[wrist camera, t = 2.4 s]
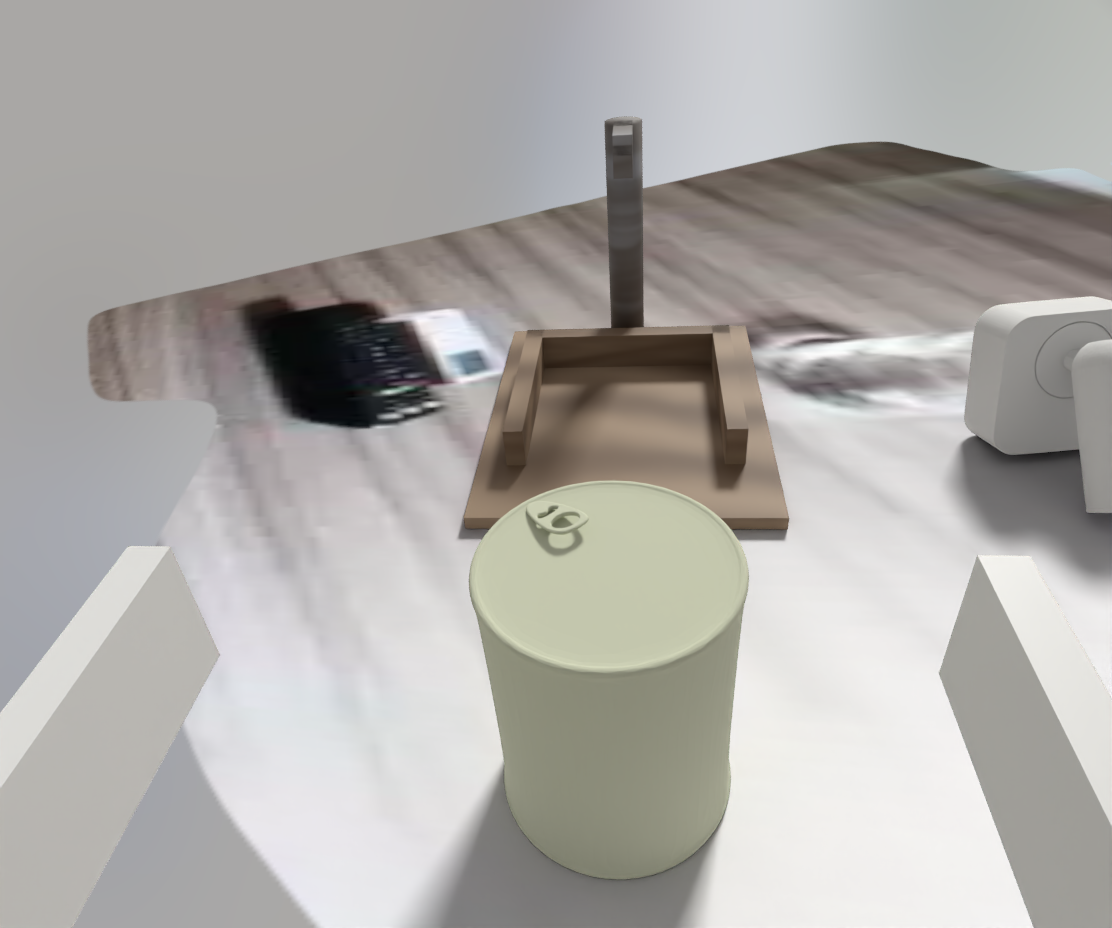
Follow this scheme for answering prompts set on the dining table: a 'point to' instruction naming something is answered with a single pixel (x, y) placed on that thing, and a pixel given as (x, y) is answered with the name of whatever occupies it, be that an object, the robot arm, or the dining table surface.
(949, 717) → the dining table surface
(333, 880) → the dining table surface
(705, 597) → the can
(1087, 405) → the wall hook
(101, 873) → the robot arm
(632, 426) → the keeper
